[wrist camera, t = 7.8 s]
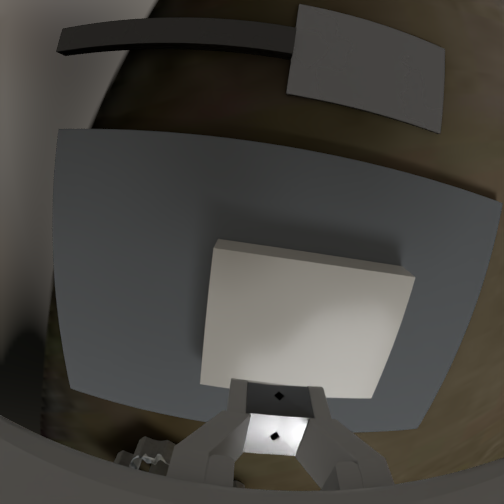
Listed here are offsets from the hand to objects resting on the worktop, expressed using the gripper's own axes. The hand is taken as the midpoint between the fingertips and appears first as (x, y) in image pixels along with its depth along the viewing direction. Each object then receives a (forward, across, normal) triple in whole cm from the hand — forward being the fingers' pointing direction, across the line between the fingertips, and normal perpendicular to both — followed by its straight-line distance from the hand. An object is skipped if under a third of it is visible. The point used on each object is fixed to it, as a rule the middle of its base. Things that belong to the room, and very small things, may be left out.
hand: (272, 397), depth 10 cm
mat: (+7, 0, 0) cm, 7 cm away
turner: (+7, +3, -13) cm, 15 cm away
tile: (+5, +3, 0) cm, 6 cm away
